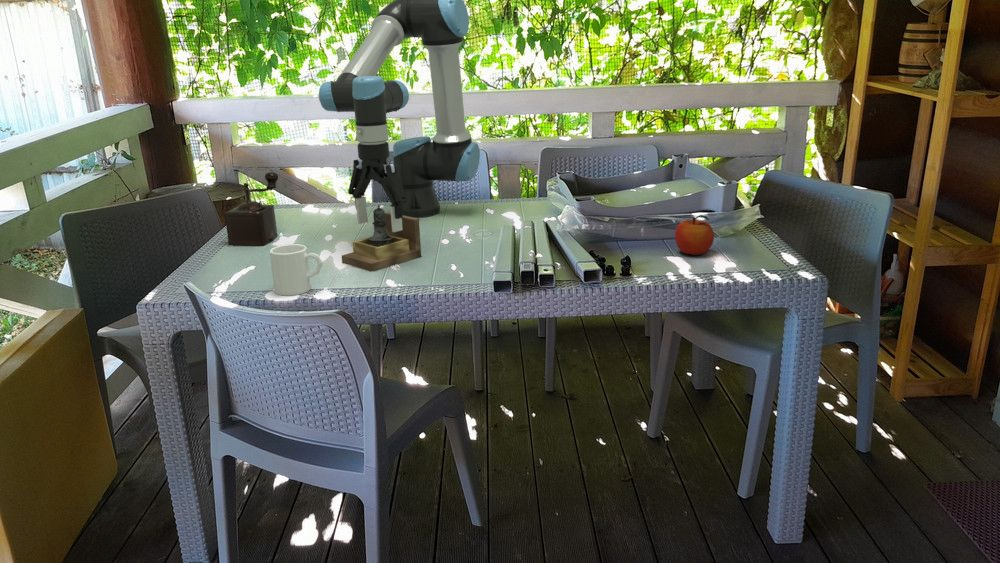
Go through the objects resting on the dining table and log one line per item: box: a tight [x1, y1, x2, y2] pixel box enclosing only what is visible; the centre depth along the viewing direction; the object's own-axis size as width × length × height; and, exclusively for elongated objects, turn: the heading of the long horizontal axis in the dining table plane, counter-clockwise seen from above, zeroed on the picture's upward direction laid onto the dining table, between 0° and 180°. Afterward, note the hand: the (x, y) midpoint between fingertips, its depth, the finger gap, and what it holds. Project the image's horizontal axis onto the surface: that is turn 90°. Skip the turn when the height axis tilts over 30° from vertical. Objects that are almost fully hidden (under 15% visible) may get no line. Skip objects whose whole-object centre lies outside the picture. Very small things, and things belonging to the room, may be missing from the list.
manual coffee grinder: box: [224, 171, 279, 247], centre depth 227 cm, size 16×11×18 cm
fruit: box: [674, 214, 715, 256], centre depth 202 cm, size 10×10×10 cm
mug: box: [269, 243, 324, 297], centre depth 183 cm, size 8×12×10 cm
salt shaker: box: [368, 204, 392, 247], centre depth 204 cm, size 6×6×12 cm
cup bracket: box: [340, 211, 422, 272], centre depth 205 cm, size 16×12×10 cm
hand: (379, 226), depth 204 cm, fingers open, 13 cm apart
